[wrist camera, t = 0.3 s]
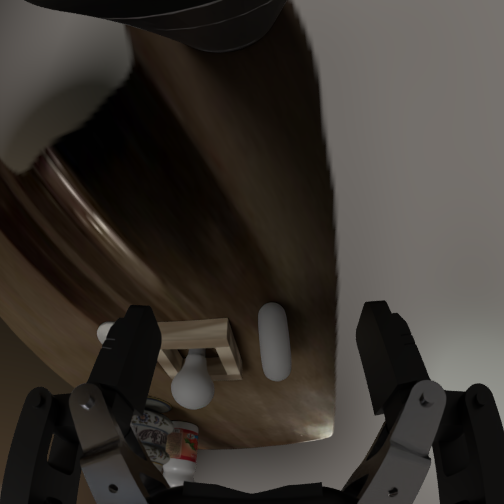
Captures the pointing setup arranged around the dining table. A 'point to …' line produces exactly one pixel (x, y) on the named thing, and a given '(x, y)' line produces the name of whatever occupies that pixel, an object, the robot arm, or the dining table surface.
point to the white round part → (104, 331)
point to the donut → (274, 341)
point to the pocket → (201, 336)
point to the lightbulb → (193, 381)
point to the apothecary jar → (154, 430)
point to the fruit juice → (181, 453)
